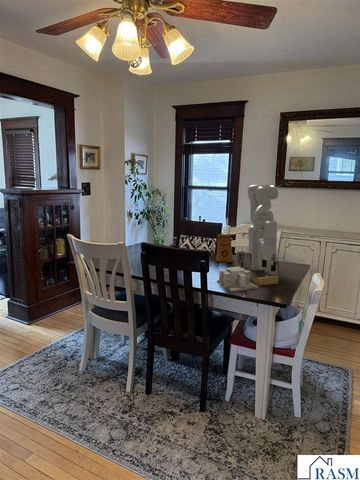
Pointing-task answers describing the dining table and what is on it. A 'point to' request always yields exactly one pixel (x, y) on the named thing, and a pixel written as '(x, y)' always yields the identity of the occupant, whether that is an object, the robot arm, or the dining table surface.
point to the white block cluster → (236, 279)
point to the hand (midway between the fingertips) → (268, 269)
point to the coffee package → (224, 248)
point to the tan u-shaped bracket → (265, 280)
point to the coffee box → (244, 260)
